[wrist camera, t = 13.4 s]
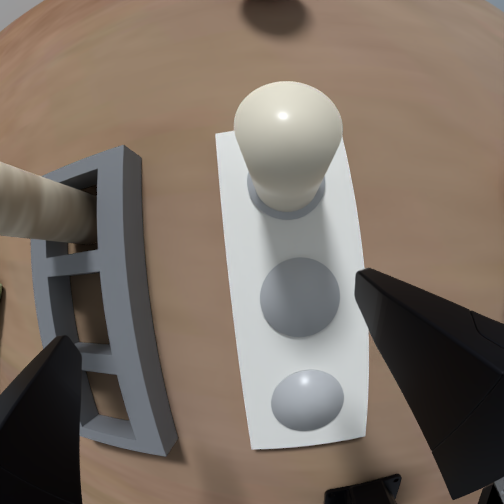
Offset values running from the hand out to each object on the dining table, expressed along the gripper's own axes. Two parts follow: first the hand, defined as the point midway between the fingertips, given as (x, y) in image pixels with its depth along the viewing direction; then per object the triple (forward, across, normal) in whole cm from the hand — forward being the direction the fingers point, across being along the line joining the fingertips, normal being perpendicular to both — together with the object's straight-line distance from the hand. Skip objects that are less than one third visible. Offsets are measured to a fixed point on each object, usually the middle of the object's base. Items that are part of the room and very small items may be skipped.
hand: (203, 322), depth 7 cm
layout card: (+6, -4, +6) cm, 10 cm away
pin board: (+9, +9, +5) cm, 14 cm away
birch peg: (+13, +9, 0) cm, 15 cm away
